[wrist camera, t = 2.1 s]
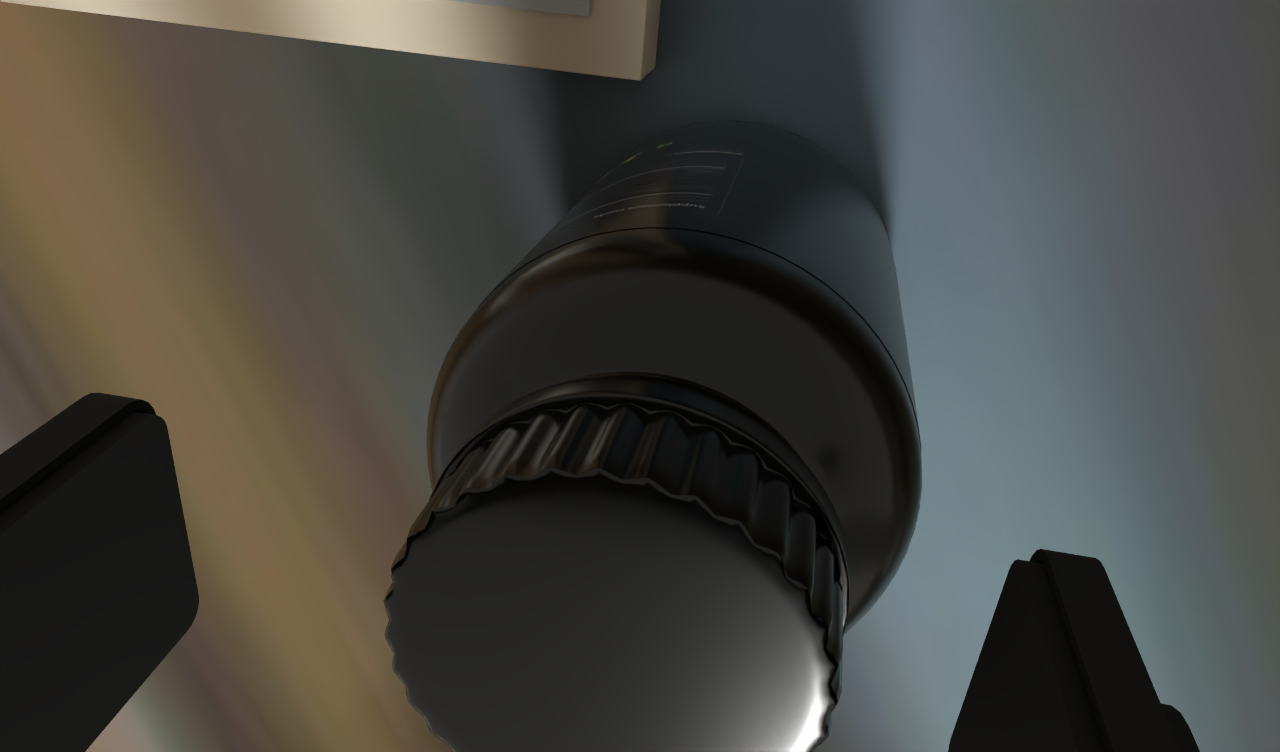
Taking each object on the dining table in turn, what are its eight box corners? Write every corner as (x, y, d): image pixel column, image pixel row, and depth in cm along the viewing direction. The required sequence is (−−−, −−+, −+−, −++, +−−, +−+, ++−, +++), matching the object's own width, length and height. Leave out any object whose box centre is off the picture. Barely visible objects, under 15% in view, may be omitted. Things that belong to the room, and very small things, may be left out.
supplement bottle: (949, 342, 20) (1067, 843, 9) (671, 455, 22) (515, 947, 12) (803, 42, 18) (739, 246, 7) (515, 205, 20) (157, 531, 10)
